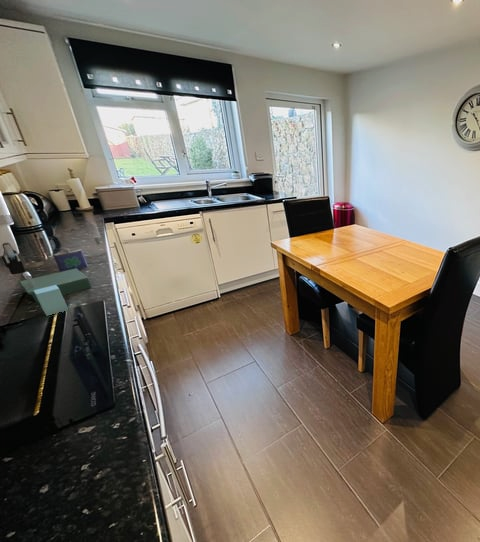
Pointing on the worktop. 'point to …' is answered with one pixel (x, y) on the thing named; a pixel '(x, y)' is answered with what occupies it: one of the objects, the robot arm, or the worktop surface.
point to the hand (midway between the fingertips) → (16, 269)
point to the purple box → (70, 260)
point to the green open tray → (70, 288)
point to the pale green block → (51, 300)
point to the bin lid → (52, 280)
